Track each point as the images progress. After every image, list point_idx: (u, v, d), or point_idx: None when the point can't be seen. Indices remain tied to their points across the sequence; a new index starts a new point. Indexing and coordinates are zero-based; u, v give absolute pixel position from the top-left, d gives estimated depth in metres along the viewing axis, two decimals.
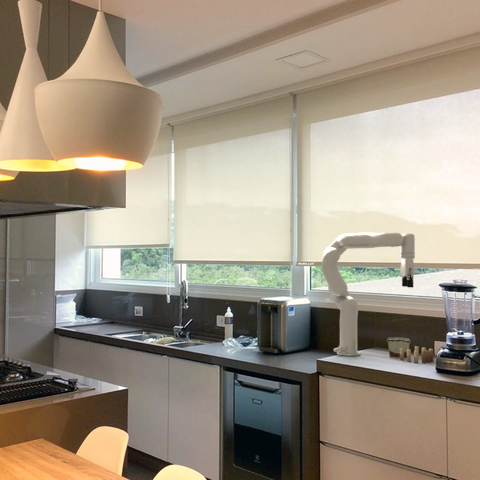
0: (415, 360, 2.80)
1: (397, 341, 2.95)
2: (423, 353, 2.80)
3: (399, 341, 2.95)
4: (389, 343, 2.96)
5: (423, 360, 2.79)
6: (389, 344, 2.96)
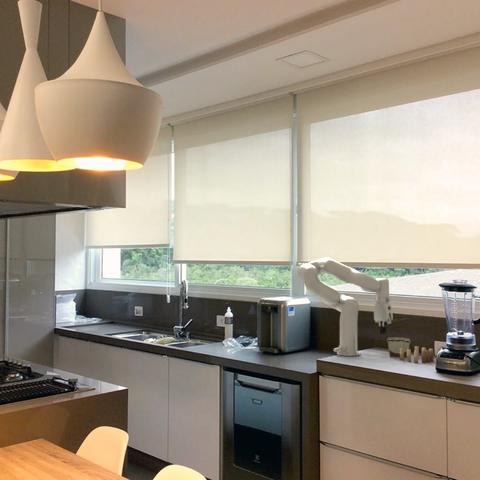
0: (415, 360, 2.80)
1: (397, 341, 2.95)
2: (423, 353, 2.80)
3: (399, 341, 2.95)
4: (389, 343, 2.96)
5: (423, 360, 2.79)
6: (389, 344, 2.96)
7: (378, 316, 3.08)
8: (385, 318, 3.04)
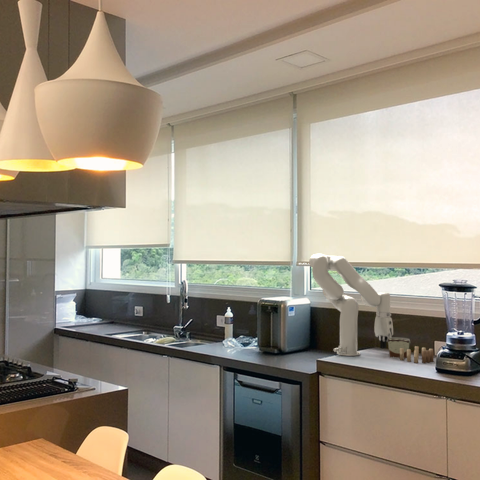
0: (415, 360, 2.80)
1: (397, 341, 2.95)
2: (423, 353, 2.80)
3: (399, 341, 2.95)
4: (389, 343, 2.96)
5: (423, 360, 2.79)
6: (389, 344, 2.96)
7: (379, 330, 3.07)
8: (386, 333, 3.03)
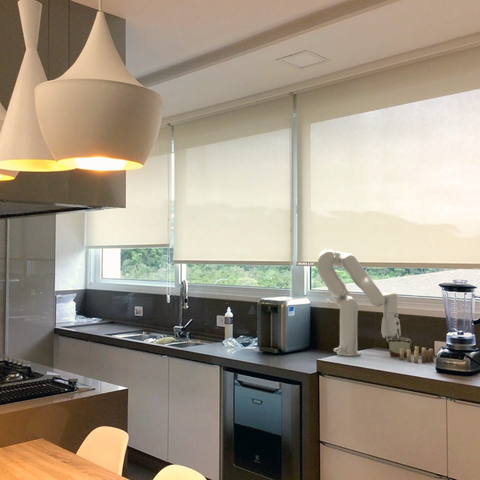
0: (415, 360, 2.80)
1: (398, 341, 2.94)
2: (423, 353, 2.80)
3: (400, 341, 2.94)
4: (390, 343, 2.96)
5: (423, 360, 2.79)
6: (390, 344, 2.96)
7: (386, 331, 3.03)
8: (393, 334, 2.99)
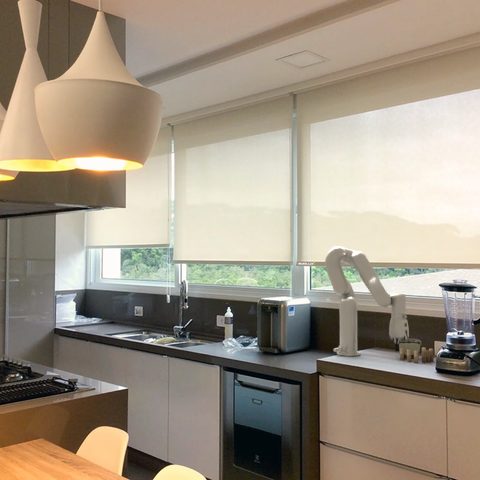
0: (415, 360, 2.80)
1: (408, 343, 2.90)
2: (423, 353, 2.80)
3: (410, 343, 2.90)
4: (400, 345, 2.90)
5: (423, 360, 2.79)
6: (400, 346, 2.90)
7: (394, 333, 2.98)
8: (401, 335, 2.94)
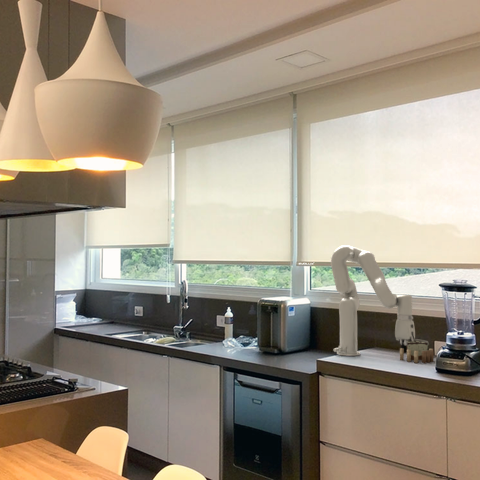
0: (415, 360, 2.80)
1: (416, 344, 2.87)
2: (423, 353, 2.80)
3: (418, 344, 2.87)
4: (408, 346, 2.86)
5: (423, 360, 2.79)
6: (408, 347, 2.86)
7: (400, 334, 2.94)
8: (407, 336, 2.90)
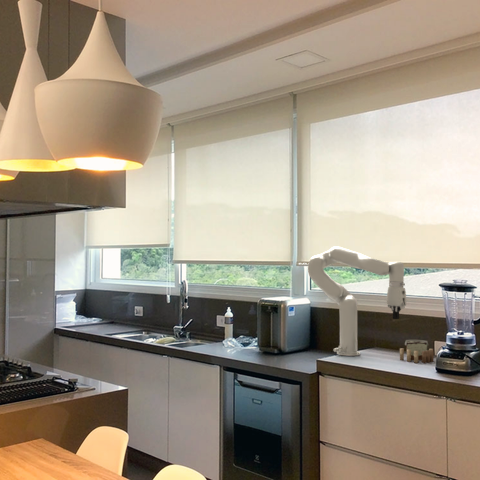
0: (415, 360, 2.80)
1: (415, 343, 2.87)
2: (423, 353, 2.80)
3: (417, 343, 2.88)
4: (408, 346, 2.87)
5: (423, 360, 2.79)
6: (408, 347, 2.87)
7: (391, 301, 2.99)
8: (399, 303, 2.95)
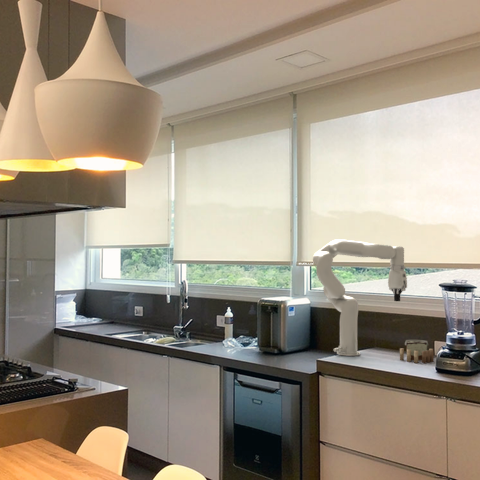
0: (415, 360, 2.80)
1: (415, 343, 2.87)
2: (423, 353, 2.80)
3: (417, 343, 2.88)
4: (408, 346, 2.87)
5: (423, 360, 2.79)
6: (408, 347, 2.87)
7: (392, 284, 3.10)
8: (400, 285, 3.06)
